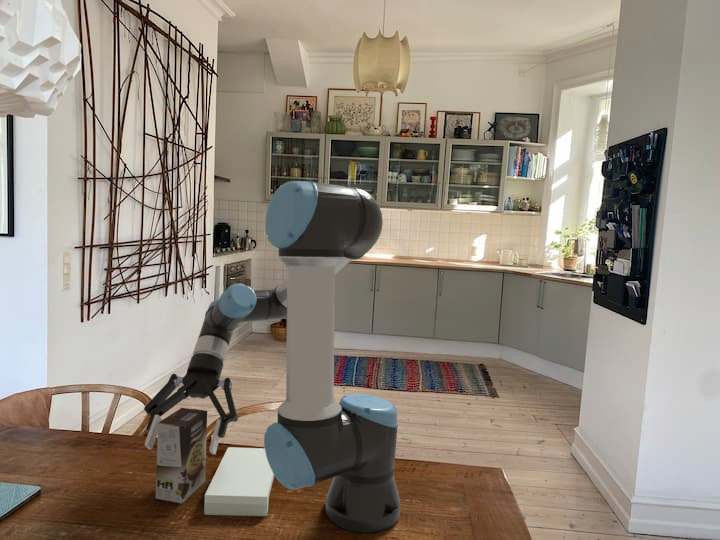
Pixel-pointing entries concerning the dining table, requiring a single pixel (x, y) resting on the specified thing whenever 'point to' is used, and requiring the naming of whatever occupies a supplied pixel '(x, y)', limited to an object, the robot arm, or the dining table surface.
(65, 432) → the dining table surface
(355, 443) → the robot arm
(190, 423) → the coffee box
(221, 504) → the shelf step
